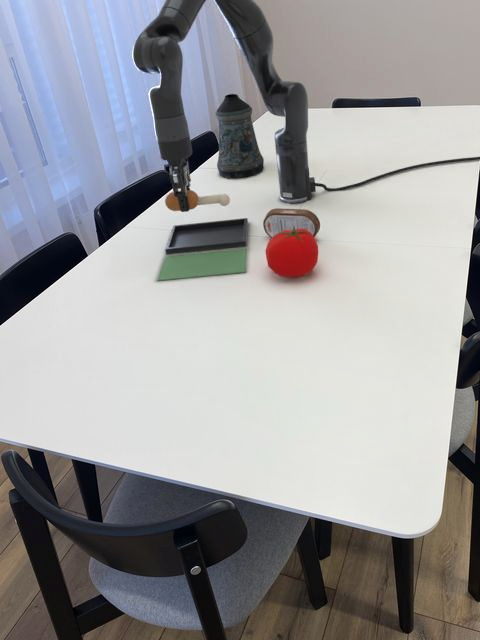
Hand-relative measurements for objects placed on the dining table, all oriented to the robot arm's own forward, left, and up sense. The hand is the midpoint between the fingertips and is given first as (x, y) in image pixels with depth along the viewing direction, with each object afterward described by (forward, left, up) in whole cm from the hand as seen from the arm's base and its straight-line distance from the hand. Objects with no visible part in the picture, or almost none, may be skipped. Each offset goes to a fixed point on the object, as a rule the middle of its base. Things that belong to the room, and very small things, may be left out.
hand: (186, 206), depth 140 cm
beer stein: (-8, -69, -15) cm, 71 cm away
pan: (-2, -13, -15) cm, 20 cm away
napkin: (-2, +2, -15) cm, 15 cm away
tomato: (-25, +11, -15) cm, 31 cm away
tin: (-25, -7, -15) cm, 30 cm away
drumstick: (-3, 0, -1) cm, 3 cm away
